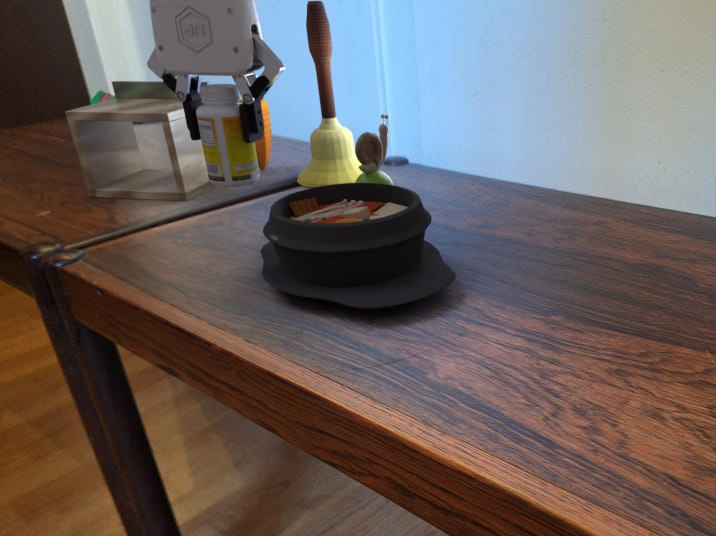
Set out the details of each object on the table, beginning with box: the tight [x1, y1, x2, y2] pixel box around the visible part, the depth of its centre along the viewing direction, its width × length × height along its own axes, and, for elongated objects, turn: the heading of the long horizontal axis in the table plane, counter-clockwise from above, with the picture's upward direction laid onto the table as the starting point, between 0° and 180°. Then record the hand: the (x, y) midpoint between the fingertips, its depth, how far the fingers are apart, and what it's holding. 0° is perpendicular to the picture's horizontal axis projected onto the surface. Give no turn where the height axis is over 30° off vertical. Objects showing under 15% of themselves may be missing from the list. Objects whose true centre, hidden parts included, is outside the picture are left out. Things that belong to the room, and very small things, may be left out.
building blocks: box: [90, 89, 144, 124], centre depth 155 cm, size 8×8×12 cm
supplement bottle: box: [196, 83, 261, 188], centre depth 77 cm, size 6×6×10 cm
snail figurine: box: [354, 113, 395, 186], centre depth 93 cm, size 5×6×12 cm
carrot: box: [239, 76, 272, 172], centre depth 112 cm, size 5×5×15 cm
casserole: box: [259, 183, 457, 310], centre depth 72 cm, size 25×19×8 cm
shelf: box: [64, 80, 217, 202], centre depth 104 cm, size 16×12×15 cm
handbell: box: [296, 0, 363, 188], centre depth 105 cm, size 12×12×25 cm
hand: (227, 137), depth 77 cm, fingers closed on supplement bottle, 5 cm apart
